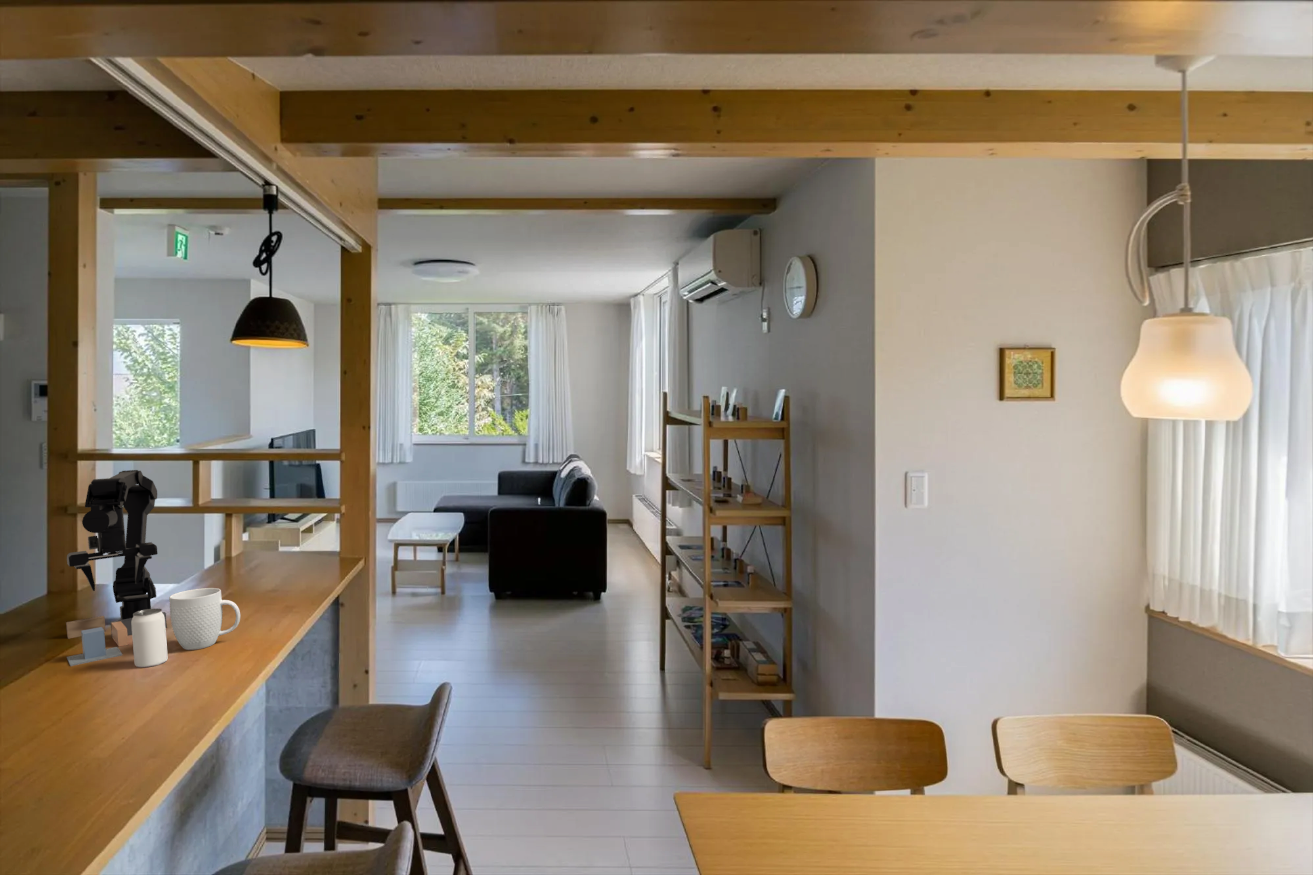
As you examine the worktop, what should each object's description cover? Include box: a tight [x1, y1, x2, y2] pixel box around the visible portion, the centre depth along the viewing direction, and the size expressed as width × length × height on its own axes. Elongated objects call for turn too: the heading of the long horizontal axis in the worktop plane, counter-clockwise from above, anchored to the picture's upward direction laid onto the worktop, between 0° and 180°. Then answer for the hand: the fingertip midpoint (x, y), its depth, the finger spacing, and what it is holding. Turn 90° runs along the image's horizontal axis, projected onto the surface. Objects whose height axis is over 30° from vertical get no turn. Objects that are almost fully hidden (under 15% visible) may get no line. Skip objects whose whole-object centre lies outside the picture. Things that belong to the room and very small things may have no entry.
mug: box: [168, 587, 241, 651], centre depth 194 cm, size 15×11×13 cm
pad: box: [66, 646, 123, 667], centre depth 188 cm, size 10×8×1 cm
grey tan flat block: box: [110, 611, 168, 647], centre depth 204 cm, size 12×12×4 cm
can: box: [131, 608, 169, 669], centre depth 182 cm, size 6×6×12 cm
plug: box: [81, 627, 107, 659], centre depth 188 cm, size 4×4×6 cm
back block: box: [65, 615, 107, 640], centre depth 208 cm, size 8×2×4 cm, turn 131°
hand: (115, 587), depth 204 cm, fingers open, 9 cm apart
